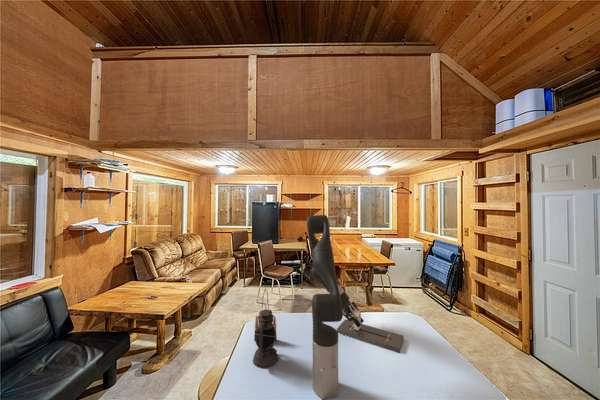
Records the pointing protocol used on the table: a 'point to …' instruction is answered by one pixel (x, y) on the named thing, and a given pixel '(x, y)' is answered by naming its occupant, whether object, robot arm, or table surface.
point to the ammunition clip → (257, 326)
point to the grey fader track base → (372, 335)
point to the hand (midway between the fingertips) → (361, 324)
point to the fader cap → (358, 317)
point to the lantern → (265, 339)
